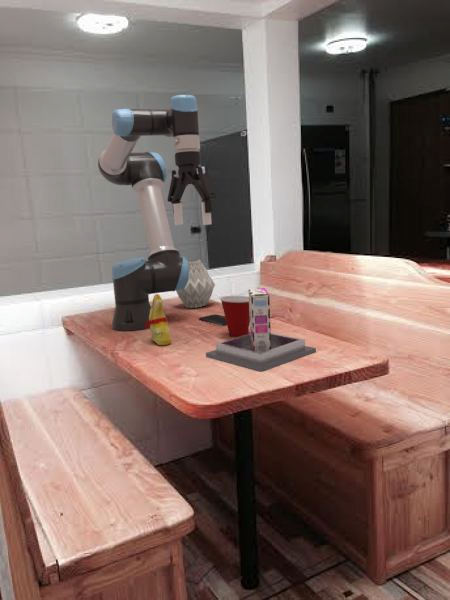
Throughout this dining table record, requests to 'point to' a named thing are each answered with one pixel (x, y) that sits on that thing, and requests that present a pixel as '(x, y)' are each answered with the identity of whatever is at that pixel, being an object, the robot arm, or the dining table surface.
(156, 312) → the chocolate bunny
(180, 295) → the vase
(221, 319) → the phone
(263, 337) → the candy bar box
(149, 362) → the dining table surface
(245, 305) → the plastic cup
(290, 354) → the grey square tray
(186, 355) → the dining table surface
